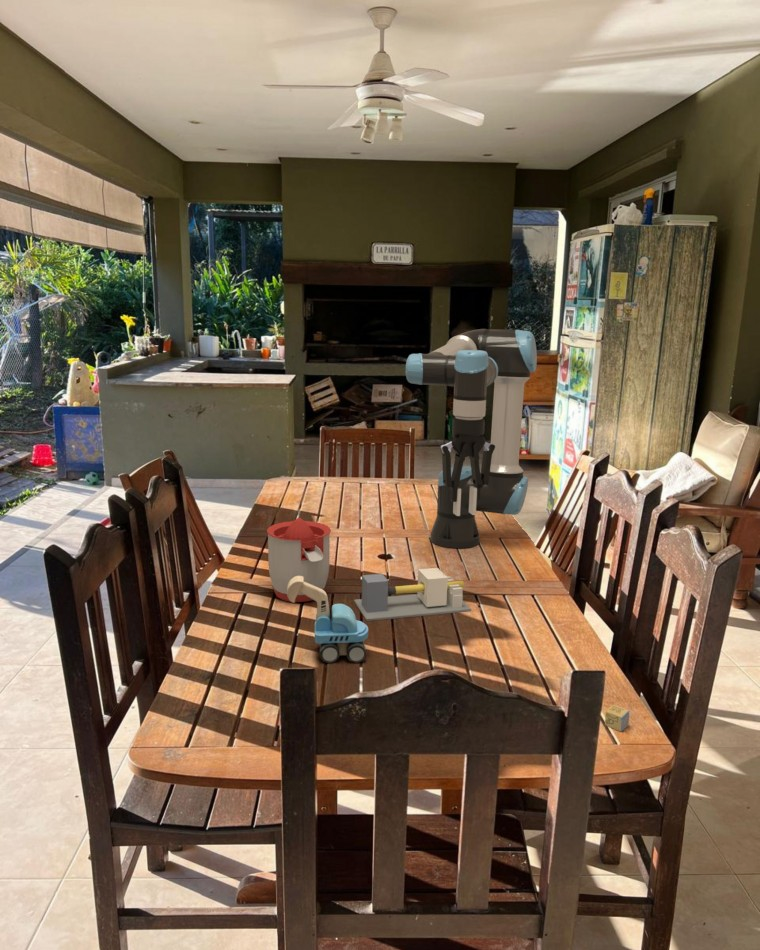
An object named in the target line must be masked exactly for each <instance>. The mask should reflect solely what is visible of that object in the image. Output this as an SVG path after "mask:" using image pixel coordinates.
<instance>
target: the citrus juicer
mask: <svg viewBox="0 0 760 950" xmlns="http://www.w3.org/2000/svg"><path fill="white" fill-rule="evenodd" d="M331 531H332V530H331V527H330V526H328V525H327V524H324V523H321V522H315V521H310V520H309V521H308V520H304V519H302V518H301V517H297V518H296V519H295V520H292V521H291V520H290V521H283V522H279V523H276V524H273V525H271V526H269V527H268V528H267V530H266V533H267V549H268V550H267V552H268V553H267V557H268V572H269V578H270V581H271V584H272V588H273V591H274V594H275V595H276V597H277V598H279V599H280V600H282V601H286V602H290V603H293V602H291V601H290V600H289V599H288V597H287V587H288V583H289V581H290V580H291V579H292V578H293V577H295V576H303V577H304V582H306V583H309V584H311V585H313V586H316V587H318V588H320V589H322V590H324V591H325V588H326V584H327V581H328V578H329V573H330V543H331V541H330V538H331V537H330V534H331V533H332V532H331ZM309 601H310V602H311V601H314V600H313V599H311V598H310V597H308V596H306V595H304V594H302V593H301V592H299V593H298V595H297V597H296V599H295V603H302V602H309ZM293 604H294V603H293Z"/></svg>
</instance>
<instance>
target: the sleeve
mask: <svg viewBox="0 0 760 950" xmlns="http://www.w3.org/2000/svg"><path fill="white" fill-rule="evenodd" d="M417 571H418V572H417V573H418V575H417V585H419V584H425V590H424V592H417V593H416V594H417V596H418V597H419V599H420V600H421V601H422V602H423V603H424V604H425V606H426V607H432V606H443V605H446V603H447V579H448V578H447V577H448V576H447V575H445V573H443V572H442V571H441V570H440V569H439V568H438V567H433V568H418V569H417Z"/></svg>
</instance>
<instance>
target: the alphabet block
mask: <svg viewBox="0 0 760 950" xmlns="http://www.w3.org/2000/svg"><path fill="white" fill-rule="evenodd" d="M630 712H631V711H630V709H626V708H624V707H621V706H618V705H617V704H612V705H611V706H610V707H608V708H607V709H606V710H605V716H604V717H605V718H604V721H605V722H604V726H606V727H608V728H610V729H614V730H616V731H618V732H623V731H624V730H625V729H626V728H627V727H628V726H629V721H630Z"/></svg>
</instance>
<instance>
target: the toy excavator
mask: <svg viewBox="0 0 760 950" xmlns="http://www.w3.org/2000/svg"><path fill="white" fill-rule="evenodd" d="M299 592H301V593H302V594H304V595H306V596H308V597H310V598H311V599H313V600H312V601H315V602H316V613H315V614H316V615H315V622H314V643H316V644H319V650H318V652H319V657H320V659H321V660H322V662H324V663H325V664H326V663H327V664H332V663H334V662H337V660H338V659H339V657H340V656H346V658H347V659H348V661H349V662H352V663H354V664H359V663H362V662H363V661H365V658H366V656H367V648H366V645H365V641H366V639H368V637H369V627H368V625H367V624H366V623H364V622H363V621H361V620H357V617H356V614H355V612H354V611H353V609H352V608H351V607H350V606H348V605H347V604H344V603H334V604H333V605H332V606H331V613H330V608H329V607H330V605H329V599H328V594H327V592H326V591H325V589H324V590H322V589H320V588H318V587H316V586H313V585H311V584H309V583H306V582H304V577H303V576H295V577H293V578H292V579H291V580H290V581H289V583H288V587H287V597H288V599H289V600H290V601H291V602H290V603H292V602H293V604H294V603H296V602H295V599H296V597H297V595H298V593H299Z"/></svg>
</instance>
